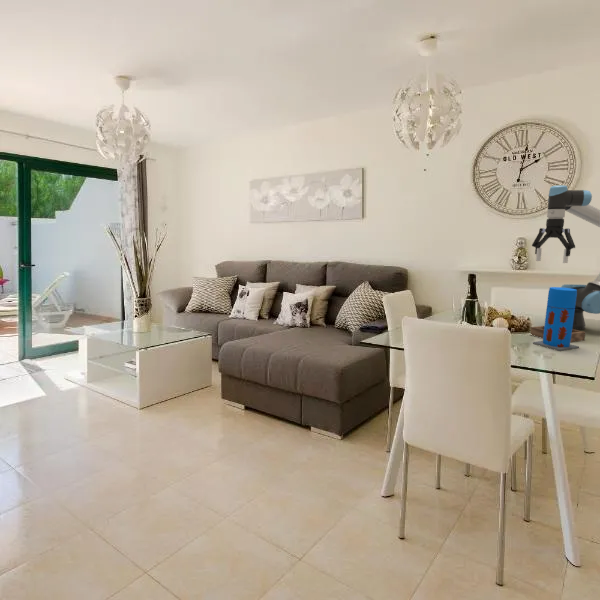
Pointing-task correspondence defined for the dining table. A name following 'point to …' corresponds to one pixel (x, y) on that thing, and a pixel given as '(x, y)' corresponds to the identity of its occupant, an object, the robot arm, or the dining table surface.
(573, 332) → the tray
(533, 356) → the dining table surface
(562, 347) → the mat
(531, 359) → the dining table surface
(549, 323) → the blue box
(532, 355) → the dining table surface
